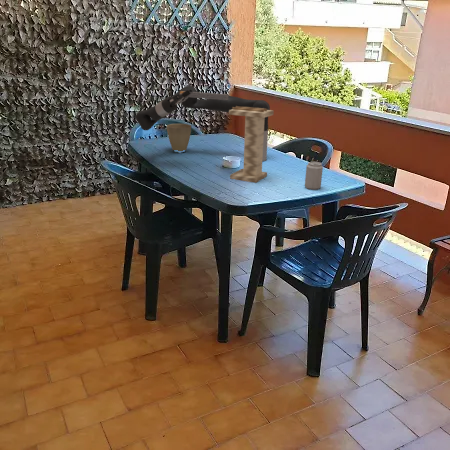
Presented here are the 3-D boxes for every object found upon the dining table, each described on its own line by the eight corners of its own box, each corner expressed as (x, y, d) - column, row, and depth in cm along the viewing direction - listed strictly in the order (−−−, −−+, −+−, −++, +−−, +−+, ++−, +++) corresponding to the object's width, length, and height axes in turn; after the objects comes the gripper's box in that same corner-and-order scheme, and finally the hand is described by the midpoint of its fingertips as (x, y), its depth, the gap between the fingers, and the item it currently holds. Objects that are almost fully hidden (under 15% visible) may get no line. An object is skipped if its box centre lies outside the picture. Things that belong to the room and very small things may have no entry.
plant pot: (163, 150, 281) (162, 124, 276) (185, 148, 288) (185, 123, 282) (172, 155, 269) (171, 128, 263) (195, 153, 276) (195, 126, 270)
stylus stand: (226, 178, 226) (228, 108, 214) (238, 171, 238) (240, 105, 225) (259, 183, 219) (263, 111, 206) (270, 176, 230) (274, 108, 218)
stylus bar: (180, 96, 230) (179, 91, 229) (182, 96, 232) (182, 91, 231) (225, 100, 219) (226, 94, 218) (228, 99, 221) (228, 94, 220)
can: (308, 190, 210) (311, 165, 205) (301, 186, 216) (304, 161, 212) (323, 189, 212) (326, 164, 207) (316, 185, 218) (318, 160, 214)
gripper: (155, 101, 231) (180, 85, 221) (170, 98, 242) (194, 83, 233) (161, 115, 232) (186, 99, 222) (176, 111, 243) (200, 97, 234)
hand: (190, 91), depth 228 cm, fingers closed on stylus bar, 2 cm apart
